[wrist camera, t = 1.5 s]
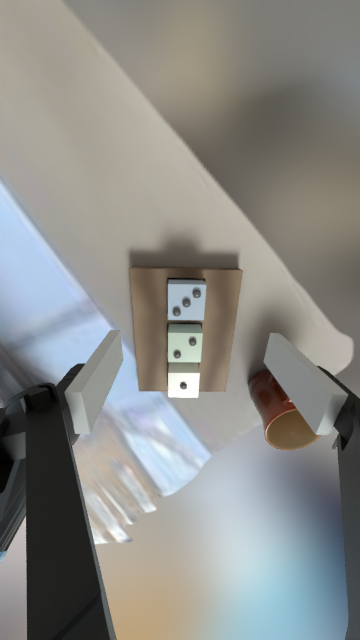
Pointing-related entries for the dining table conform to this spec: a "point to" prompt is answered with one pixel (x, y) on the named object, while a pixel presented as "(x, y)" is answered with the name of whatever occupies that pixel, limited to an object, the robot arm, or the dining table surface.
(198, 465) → the dining table surface
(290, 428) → the mug
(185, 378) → the tile one
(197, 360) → the tile two
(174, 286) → the tile three
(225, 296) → the board
